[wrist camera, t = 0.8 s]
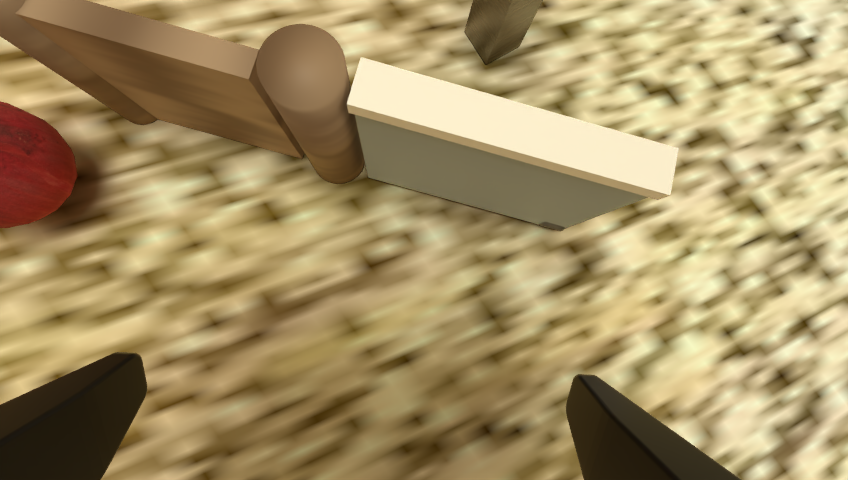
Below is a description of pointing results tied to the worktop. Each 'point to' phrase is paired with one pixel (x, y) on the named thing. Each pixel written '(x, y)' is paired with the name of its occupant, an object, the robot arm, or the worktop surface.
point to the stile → (499, 25)
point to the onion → (31, 168)
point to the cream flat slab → (499, 150)
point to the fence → (201, 78)
